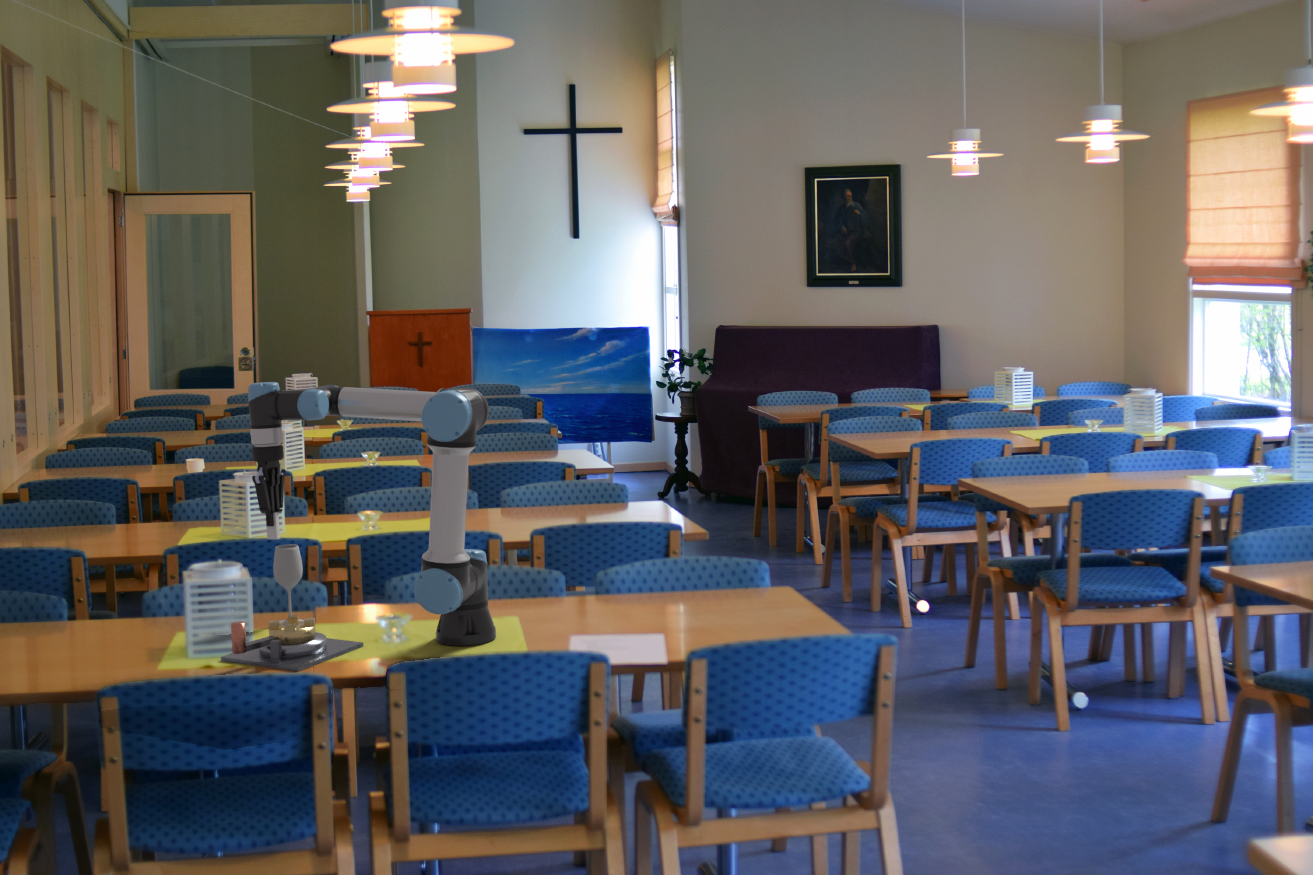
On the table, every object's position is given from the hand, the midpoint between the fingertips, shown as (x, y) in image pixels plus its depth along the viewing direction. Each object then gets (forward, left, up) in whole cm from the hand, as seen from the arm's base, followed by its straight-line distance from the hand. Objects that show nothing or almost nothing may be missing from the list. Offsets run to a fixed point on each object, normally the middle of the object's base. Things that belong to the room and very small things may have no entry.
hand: (273, 538), depth 327 cm
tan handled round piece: (-7, +10, -24) cm, 27 cm away
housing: (-8, +4, -28) cm, 29 cm away
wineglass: (+14, -20, -28) cm, 37 cm away
